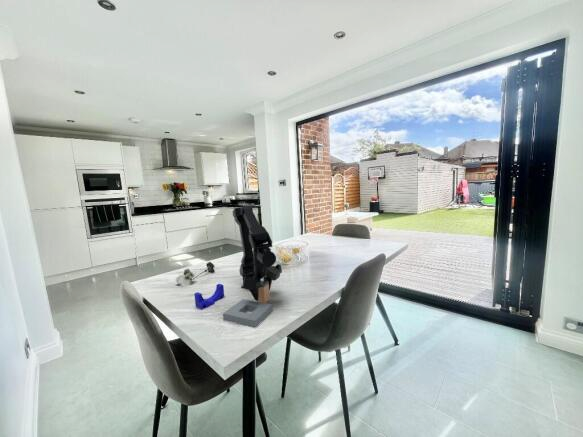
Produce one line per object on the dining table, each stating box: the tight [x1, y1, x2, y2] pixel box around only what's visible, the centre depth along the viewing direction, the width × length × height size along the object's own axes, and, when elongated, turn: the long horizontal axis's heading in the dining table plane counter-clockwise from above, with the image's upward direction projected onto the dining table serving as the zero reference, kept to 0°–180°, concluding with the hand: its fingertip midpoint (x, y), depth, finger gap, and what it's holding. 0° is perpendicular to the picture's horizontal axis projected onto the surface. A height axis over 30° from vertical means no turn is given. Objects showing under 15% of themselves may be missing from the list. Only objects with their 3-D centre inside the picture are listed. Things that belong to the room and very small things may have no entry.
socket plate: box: [222, 298, 274, 328], centre depth 90 cm, size 14×12×2 cm
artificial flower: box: [175, 261, 216, 288], centre depth 130 cm, size 9×22×10 cm, turn 149°
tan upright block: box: [256, 280, 271, 304], centre depth 101 cm, size 4×4×8 cm
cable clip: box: [194, 283, 225, 311], centre depth 102 cm, size 12×4×6 cm, turn 141°
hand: (262, 295), depth 101 cm, fingers open, 9 cm apart
